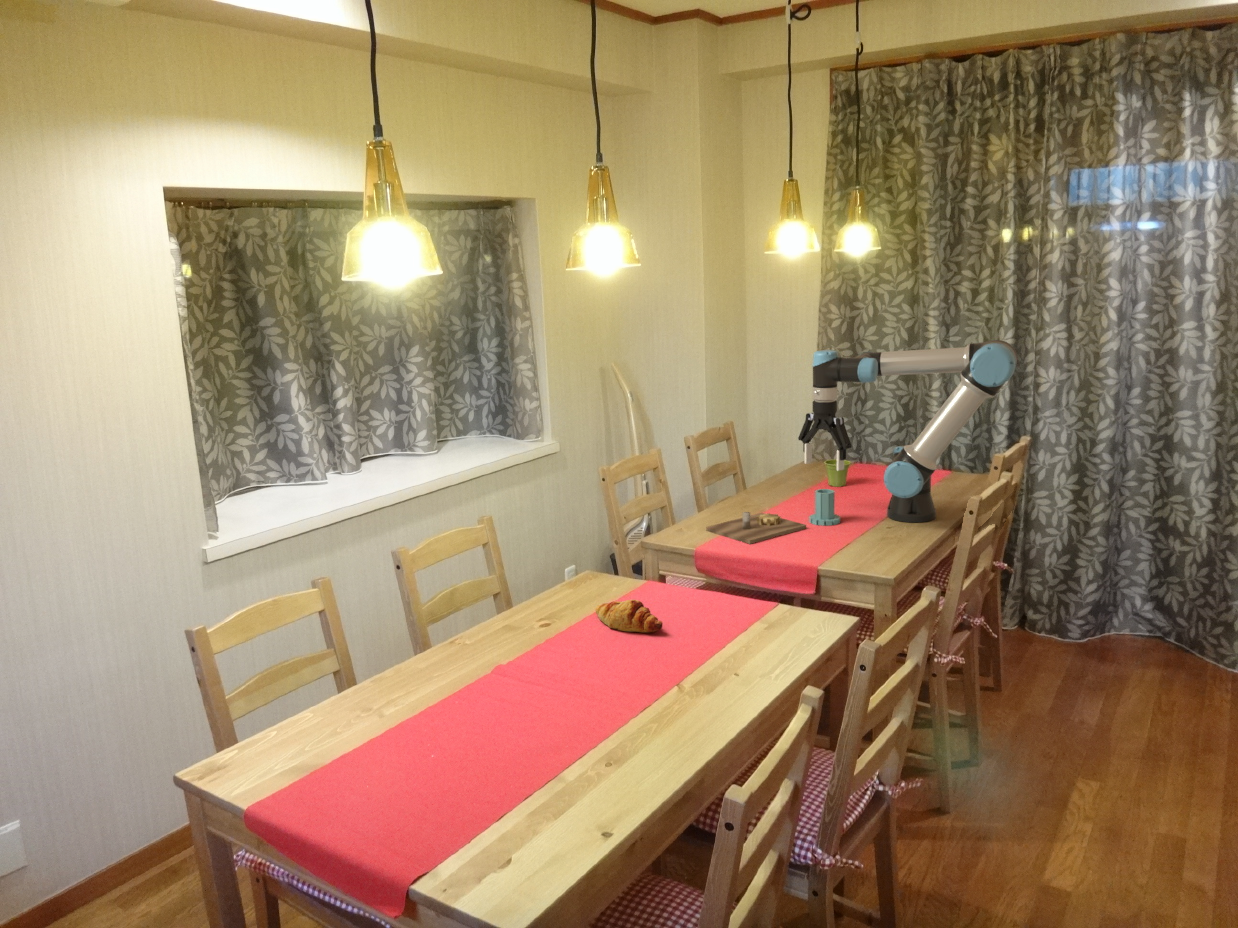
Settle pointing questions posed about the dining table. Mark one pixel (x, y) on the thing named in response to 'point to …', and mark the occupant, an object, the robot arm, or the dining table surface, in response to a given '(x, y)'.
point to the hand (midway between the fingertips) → (824, 466)
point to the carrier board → (755, 527)
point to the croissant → (628, 616)
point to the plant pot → (836, 473)
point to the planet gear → (824, 508)
